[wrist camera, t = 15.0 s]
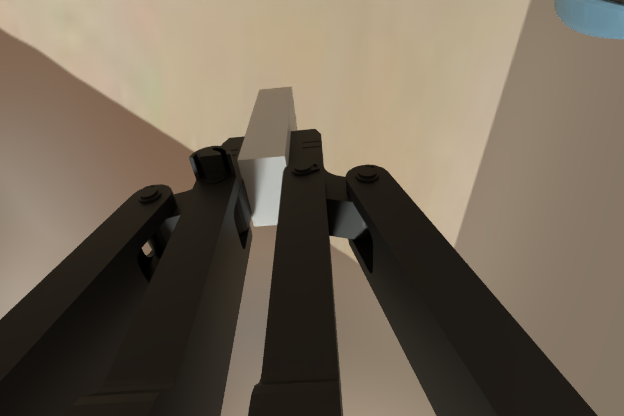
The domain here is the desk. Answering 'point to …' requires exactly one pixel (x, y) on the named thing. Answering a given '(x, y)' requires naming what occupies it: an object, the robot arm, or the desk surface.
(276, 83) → the desk surface
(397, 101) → the desk surface
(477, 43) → the desk surface
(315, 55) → the desk surface
